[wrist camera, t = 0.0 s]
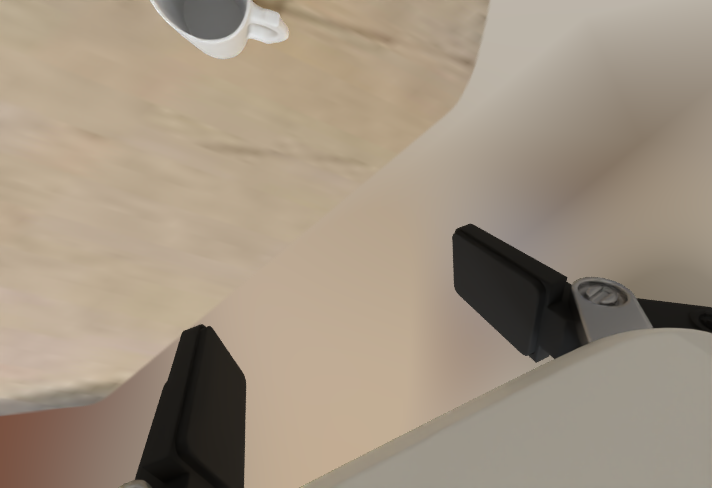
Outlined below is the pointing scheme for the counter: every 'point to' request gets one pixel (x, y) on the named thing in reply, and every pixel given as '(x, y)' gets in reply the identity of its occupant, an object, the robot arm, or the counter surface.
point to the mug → (222, 24)
